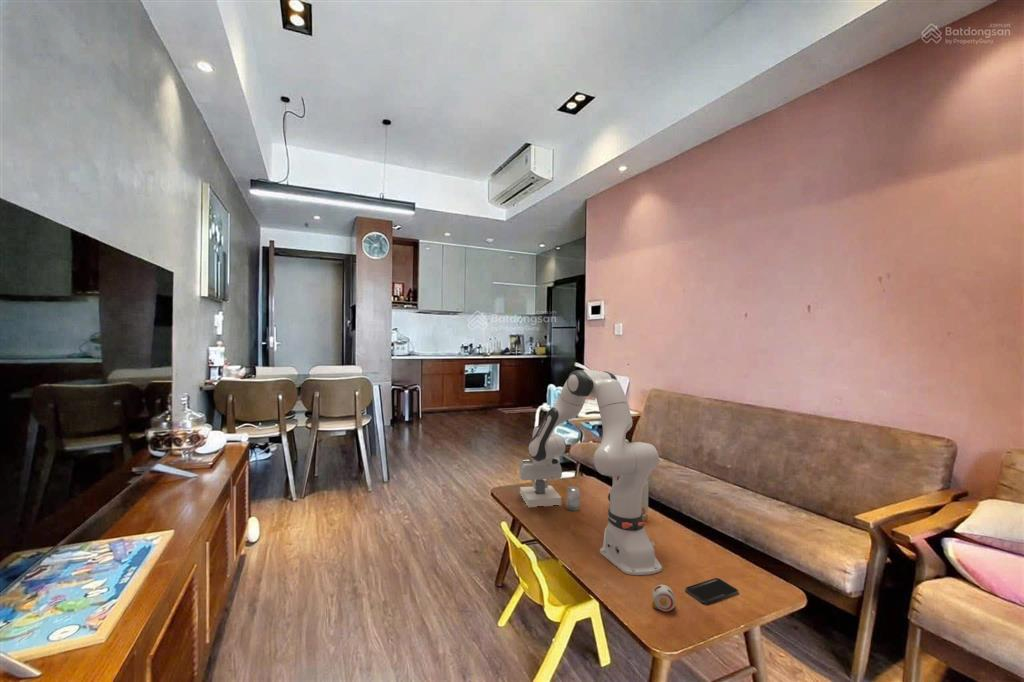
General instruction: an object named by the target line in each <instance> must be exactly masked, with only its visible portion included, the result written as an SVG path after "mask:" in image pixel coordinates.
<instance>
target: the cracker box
mask: <svg viewBox="0 0 1024 682" xmlns="http://www.w3.org/2000/svg"><path fill="white" fill-rule="evenodd" d="M619 478H620V476H612V486H613V485H614V484H615V483H616V482H617V481H618V480H619ZM641 513H642V516H643V520H644V521H643V522H649V478H648V479H647V481H646V483H645V486H644V489H643V493H642V505H641Z"/></svg>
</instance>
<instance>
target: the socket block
mask: <svg viewBox="0 0 1024 682" xmlns="http://www.w3.org/2000/svg"><path fill="white" fill-rule="evenodd" d="M520 494H521V495H520ZM519 495H520V497H521V496H522V497H521V498H523V499H522V500H523V502H524V501H525V502H524V503H526V504H525V506H526V507H527V506H528V507H527V508H538V507H537V506H544V507H554V506H553V505H559V506H562V502H563V501H562V499H563V497H562V496H561V495H560V494H559V493H558V491H556V489H555V488H554V487H553V486H552V485H548V488H545V494H536V489H533V486H519Z"/></svg>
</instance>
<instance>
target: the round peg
mask: <svg viewBox="0 0 1024 682" xmlns="http://www.w3.org/2000/svg"><path fill="white" fill-rule="evenodd" d="M566 509H567V510H568V509H569V510H568V511H570V510H572V511H571V512H577V511H579V510H580V488H579V487H578V486H573V485H572V486H567V487H566ZM576 510H577V511H576Z"/></svg>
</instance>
